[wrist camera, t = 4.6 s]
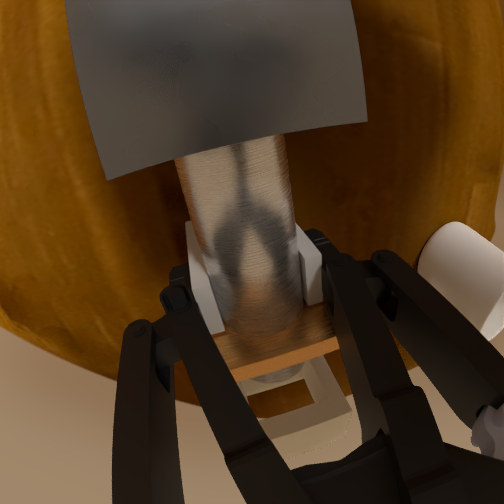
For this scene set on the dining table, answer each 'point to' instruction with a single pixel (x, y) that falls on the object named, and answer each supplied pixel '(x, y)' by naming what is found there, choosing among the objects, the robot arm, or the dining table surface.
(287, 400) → the dining table surface
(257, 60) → the sleeve
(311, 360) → the socket block
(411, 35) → the dining table surface
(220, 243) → the tube
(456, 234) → the mug
